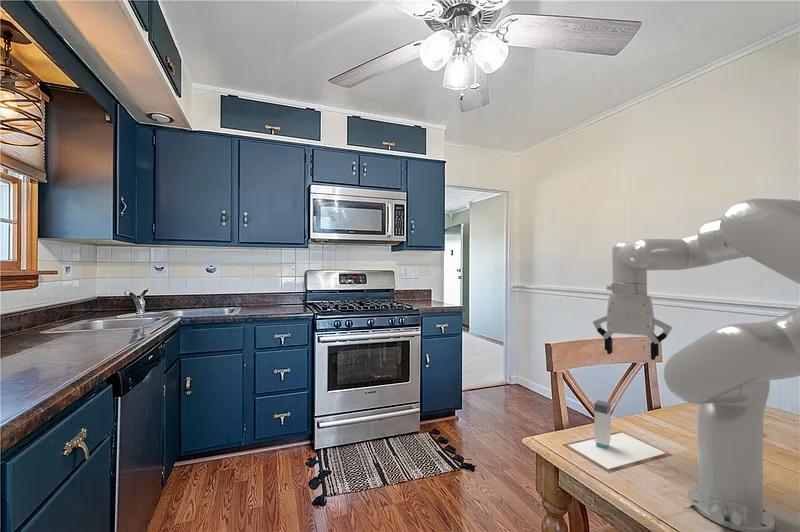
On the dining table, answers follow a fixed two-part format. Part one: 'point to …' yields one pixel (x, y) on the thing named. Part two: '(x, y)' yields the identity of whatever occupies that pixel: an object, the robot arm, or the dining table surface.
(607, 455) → the paper
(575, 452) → the board
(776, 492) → the dining table surface
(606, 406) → the grey square bar
